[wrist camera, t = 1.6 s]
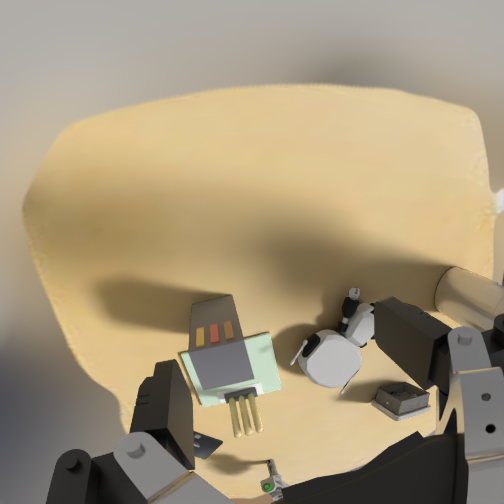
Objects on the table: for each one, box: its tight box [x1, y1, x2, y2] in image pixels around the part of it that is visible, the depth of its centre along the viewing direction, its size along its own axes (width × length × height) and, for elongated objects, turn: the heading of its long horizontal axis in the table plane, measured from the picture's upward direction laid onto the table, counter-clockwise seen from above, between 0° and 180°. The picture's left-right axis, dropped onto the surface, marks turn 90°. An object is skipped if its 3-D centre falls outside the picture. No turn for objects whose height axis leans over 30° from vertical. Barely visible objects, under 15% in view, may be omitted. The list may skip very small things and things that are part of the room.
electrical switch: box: [371, 383, 431, 421], centre depth 44 cm, size 9×5×9 cm, turn 83°
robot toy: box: [290, 287, 375, 395], centre depth 40 cm, size 12×4×15 cm
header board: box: [181, 332, 282, 438], centre depth 36 cm, size 13×11×10 cm
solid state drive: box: [193, 431, 223, 459], centre depth 43 cm, size 7×10×1 cm
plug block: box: [188, 295, 255, 391], centre depth 32 cm, size 6×5×12 cm
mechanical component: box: [261, 459, 290, 501], centre depth 43 cm, size 3×10×10 cm, turn 31°
